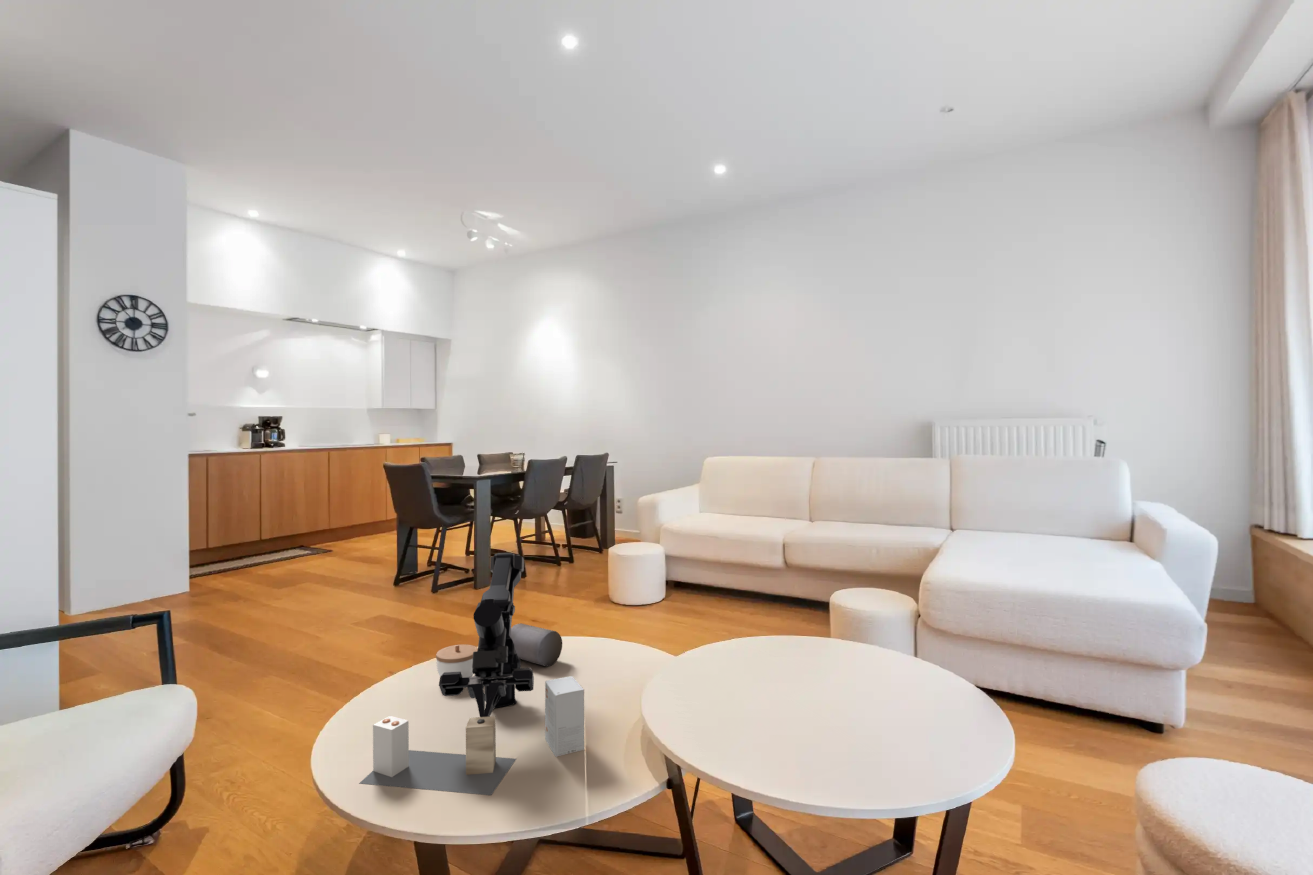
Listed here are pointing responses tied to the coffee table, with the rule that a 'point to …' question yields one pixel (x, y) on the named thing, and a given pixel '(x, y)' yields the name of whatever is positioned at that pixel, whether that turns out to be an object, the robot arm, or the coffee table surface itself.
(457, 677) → the robot arm
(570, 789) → the coffee table surface
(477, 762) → the tile one
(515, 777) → the coffee table surface
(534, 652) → the pillar candle
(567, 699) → the small box
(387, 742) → the tile two
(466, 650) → the lidded jar
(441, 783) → the mat
